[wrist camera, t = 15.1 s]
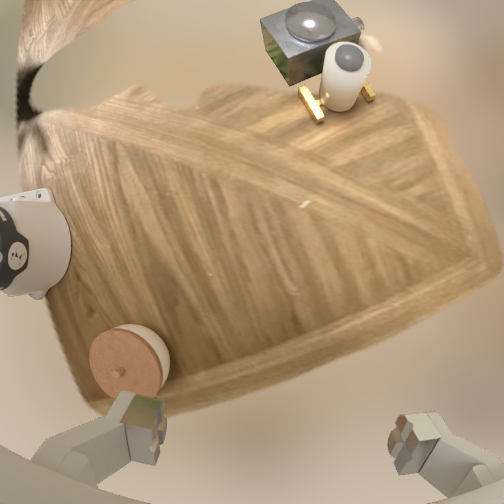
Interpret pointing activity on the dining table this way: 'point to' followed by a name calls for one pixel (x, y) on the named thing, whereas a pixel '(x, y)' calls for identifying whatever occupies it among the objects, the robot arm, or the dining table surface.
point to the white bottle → (343, 75)
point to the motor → (309, 43)
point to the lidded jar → (129, 360)
